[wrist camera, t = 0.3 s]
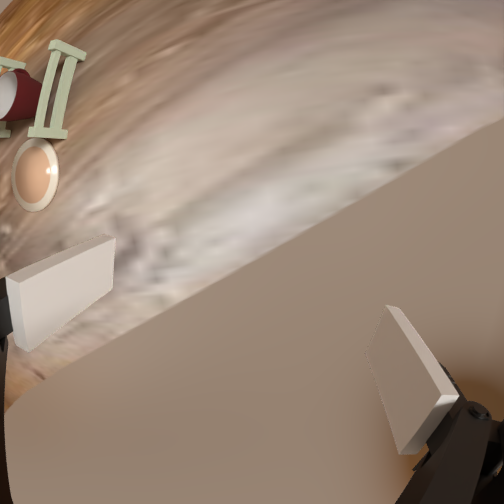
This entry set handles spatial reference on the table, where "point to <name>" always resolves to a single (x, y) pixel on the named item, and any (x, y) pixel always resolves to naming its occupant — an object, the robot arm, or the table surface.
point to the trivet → (35, 174)
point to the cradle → (49, 90)
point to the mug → (18, 95)
